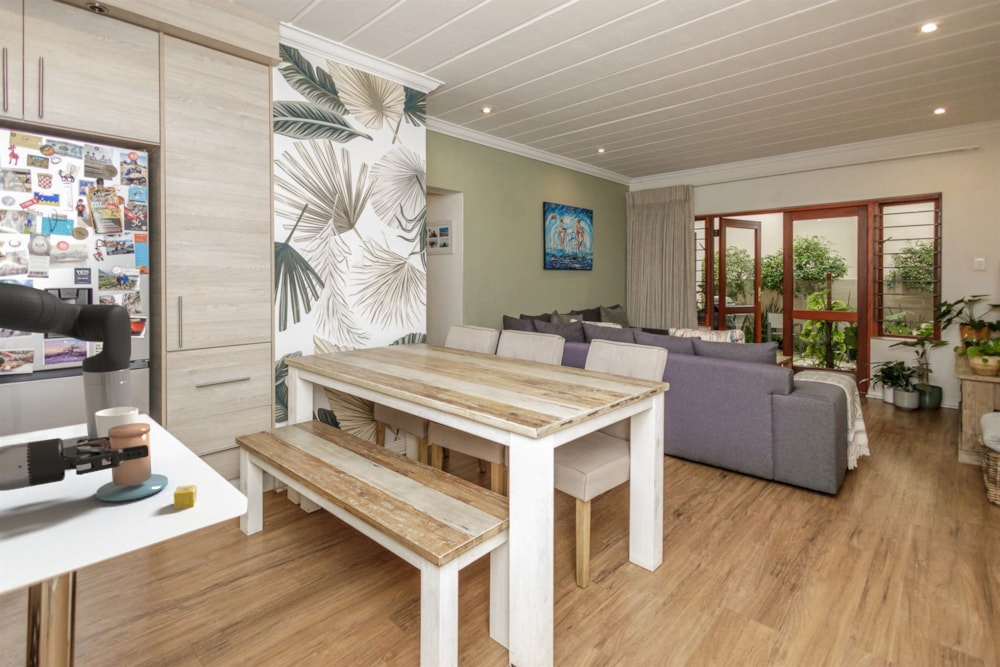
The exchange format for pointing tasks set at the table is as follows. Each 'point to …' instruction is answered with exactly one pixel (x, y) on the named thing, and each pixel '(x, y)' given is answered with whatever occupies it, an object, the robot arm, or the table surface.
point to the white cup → (114, 418)
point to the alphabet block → (185, 496)
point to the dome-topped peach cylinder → (134, 468)
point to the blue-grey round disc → (131, 489)
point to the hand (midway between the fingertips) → (146, 445)
